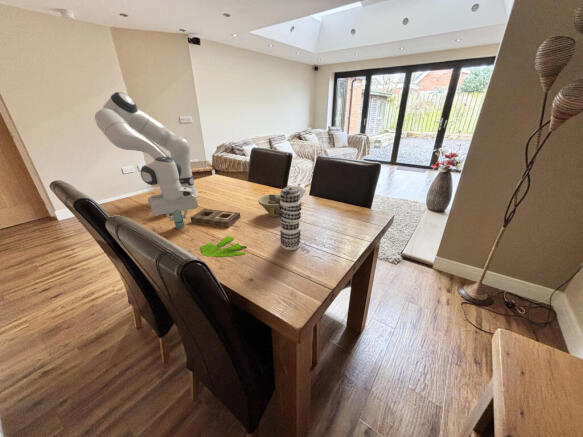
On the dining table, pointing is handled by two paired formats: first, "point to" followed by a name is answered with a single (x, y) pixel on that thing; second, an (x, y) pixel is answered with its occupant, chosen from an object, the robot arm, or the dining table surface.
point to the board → (215, 217)
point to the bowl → (271, 204)
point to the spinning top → (300, 189)
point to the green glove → (226, 252)
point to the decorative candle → (290, 218)
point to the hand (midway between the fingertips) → (178, 219)
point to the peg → (178, 219)
